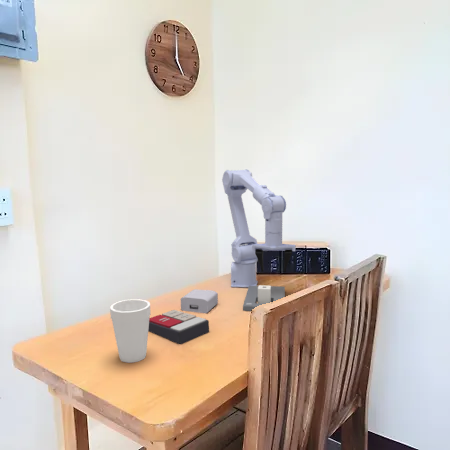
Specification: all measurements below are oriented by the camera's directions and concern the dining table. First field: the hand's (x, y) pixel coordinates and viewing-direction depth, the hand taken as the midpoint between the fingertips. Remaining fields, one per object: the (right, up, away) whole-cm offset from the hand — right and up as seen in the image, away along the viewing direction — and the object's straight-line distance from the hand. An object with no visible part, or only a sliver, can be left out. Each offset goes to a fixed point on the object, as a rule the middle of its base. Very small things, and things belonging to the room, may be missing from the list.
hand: (273, 271), depth 143 cm
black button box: (-30, -15, -25) cm, 42 cm away
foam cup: (-39, -17, -41) cm, 59 cm away
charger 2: (-4, -10, -6) cm, 12 cm away
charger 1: (-24, -11, -4) cm, 26 cm away
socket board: (-3, -10, -1) cm, 10 cm away
